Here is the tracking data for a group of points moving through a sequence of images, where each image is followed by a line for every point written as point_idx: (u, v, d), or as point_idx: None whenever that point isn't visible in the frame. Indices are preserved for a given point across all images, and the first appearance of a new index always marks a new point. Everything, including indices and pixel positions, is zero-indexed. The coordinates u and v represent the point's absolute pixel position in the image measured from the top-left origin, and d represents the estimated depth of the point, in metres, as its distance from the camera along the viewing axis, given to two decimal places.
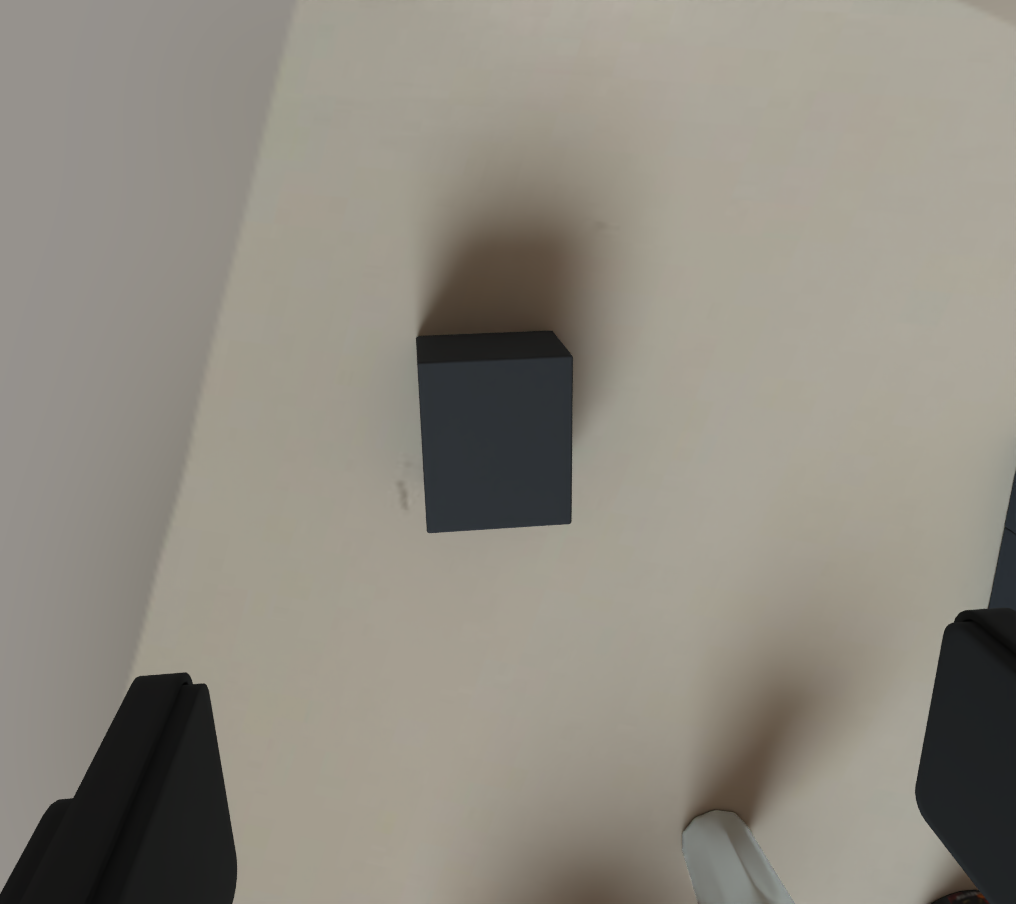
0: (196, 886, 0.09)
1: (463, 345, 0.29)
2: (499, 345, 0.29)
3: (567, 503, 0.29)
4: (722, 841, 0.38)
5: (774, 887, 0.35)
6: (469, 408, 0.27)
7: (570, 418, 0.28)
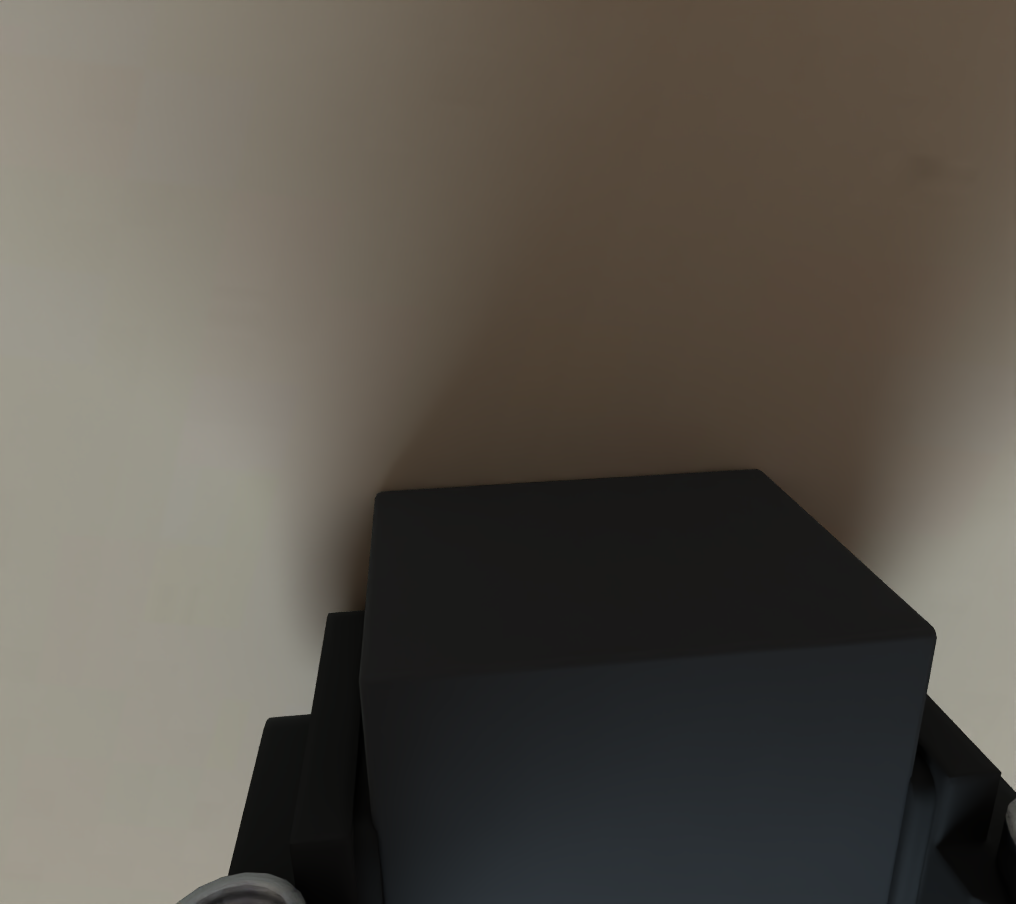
0: None
1: (520, 549, 0.09)
2: (638, 551, 0.09)
3: None
4: None
5: None
6: (553, 816, 0.07)
7: (899, 825, 0.08)
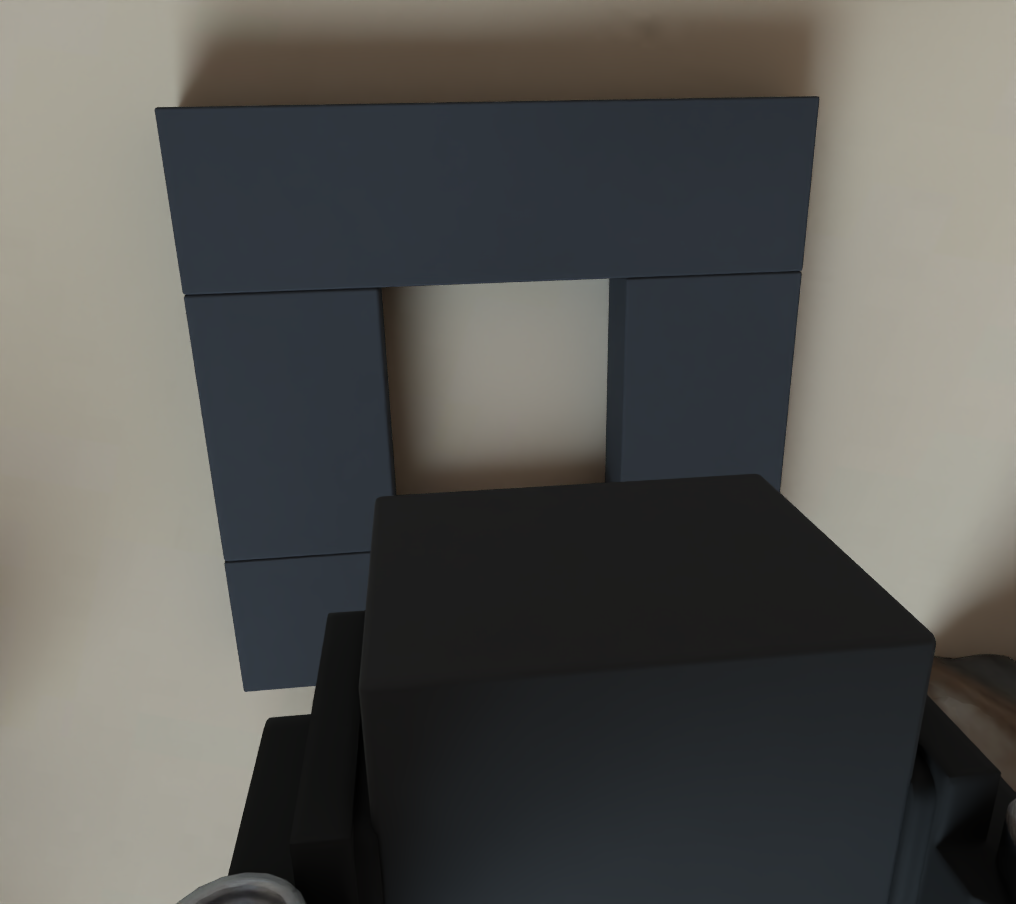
0: None
1: (520, 554, 0.09)
2: (638, 556, 0.09)
3: None
4: None
5: None
6: (551, 822, 0.07)
7: (899, 831, 0.08)
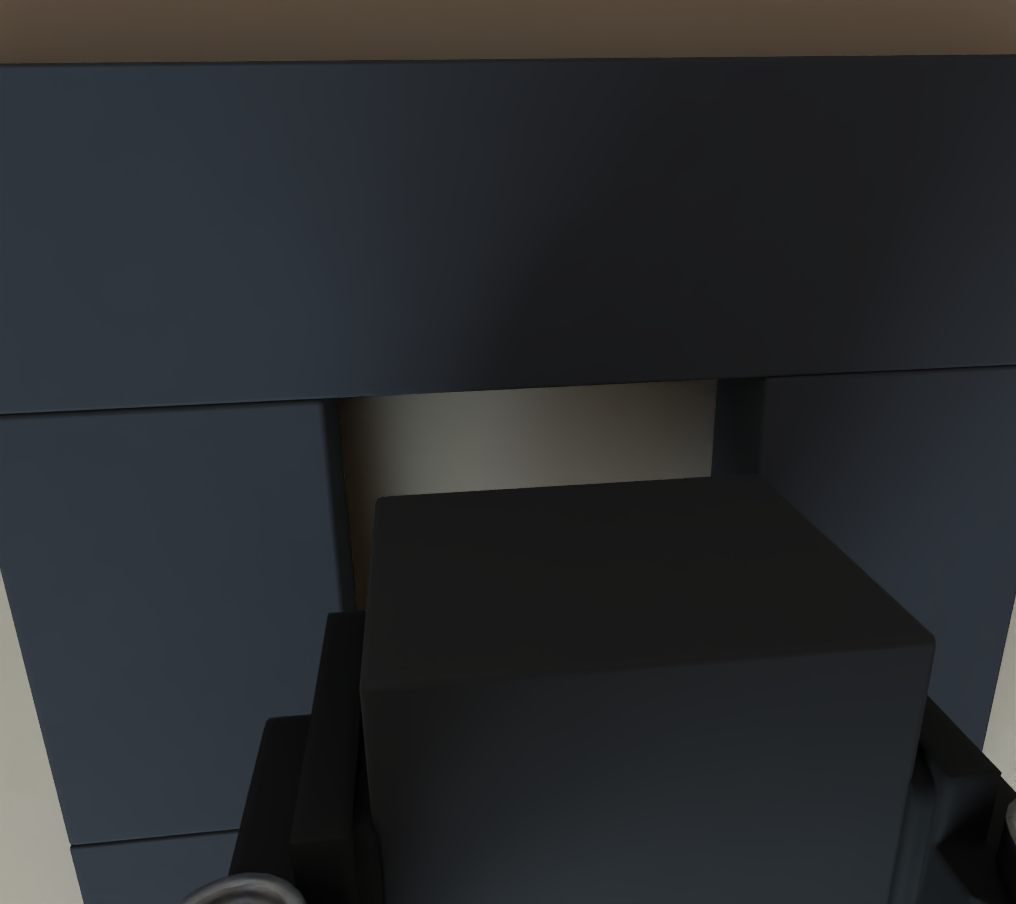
0: None
1: (521, 554, 0.09)
2: (638, 557, 0.09)
3: None
4: None
5: None
6: (554, 822, 0.07)
7: (899, 831, 0.08)
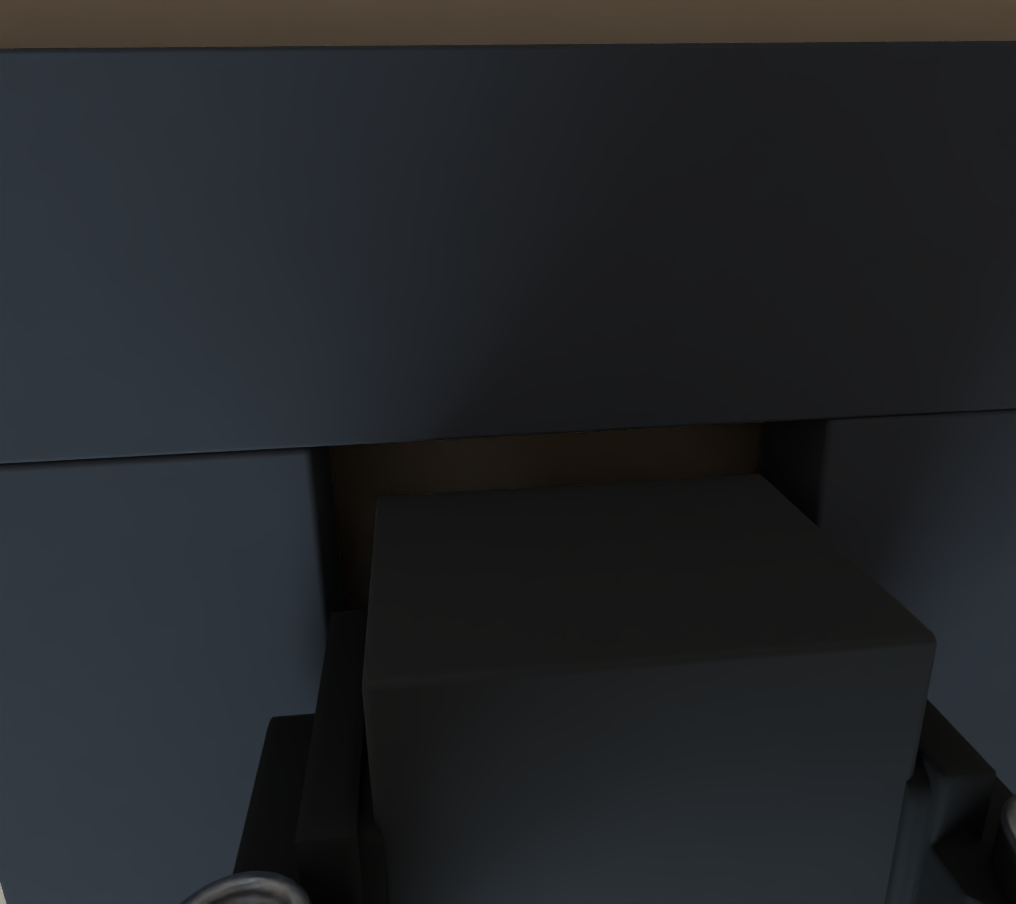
0: None
1: (522, 554, 0.09)
2: (639, 556, 0.09)
3: None
4: None
5: None
6: (555, 822, 0.07)
7: None
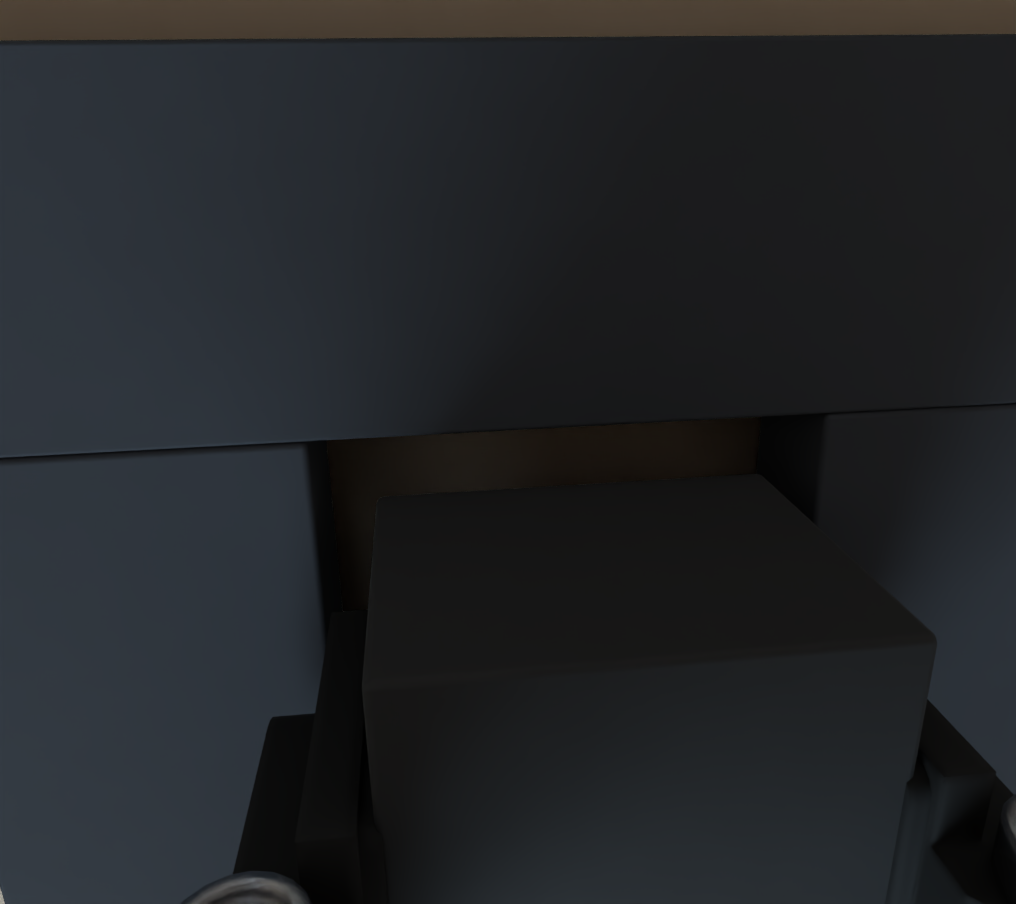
0: None
1: (522, 554, 0.09)
2: (639, 556, 0.09)
3: None
4: None
5: None
6: (555, 822, 0.07)
7: None
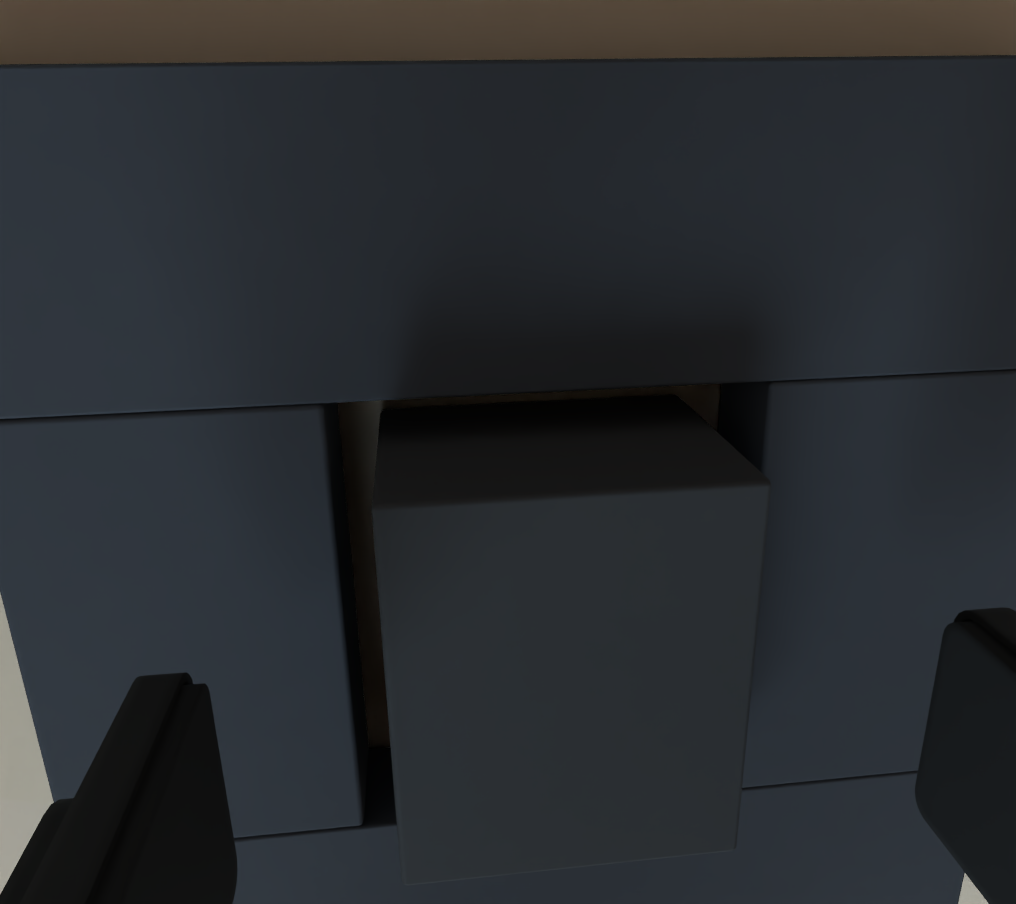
0: (197, 886, 0.09)
1: (487, 440, 0.12)
2: (573, 441, 0.12)
3: (732, 810, 0.12)
4: None
5: None
6: (505, 612, 0.11)
7: (754, 628, 0.11)
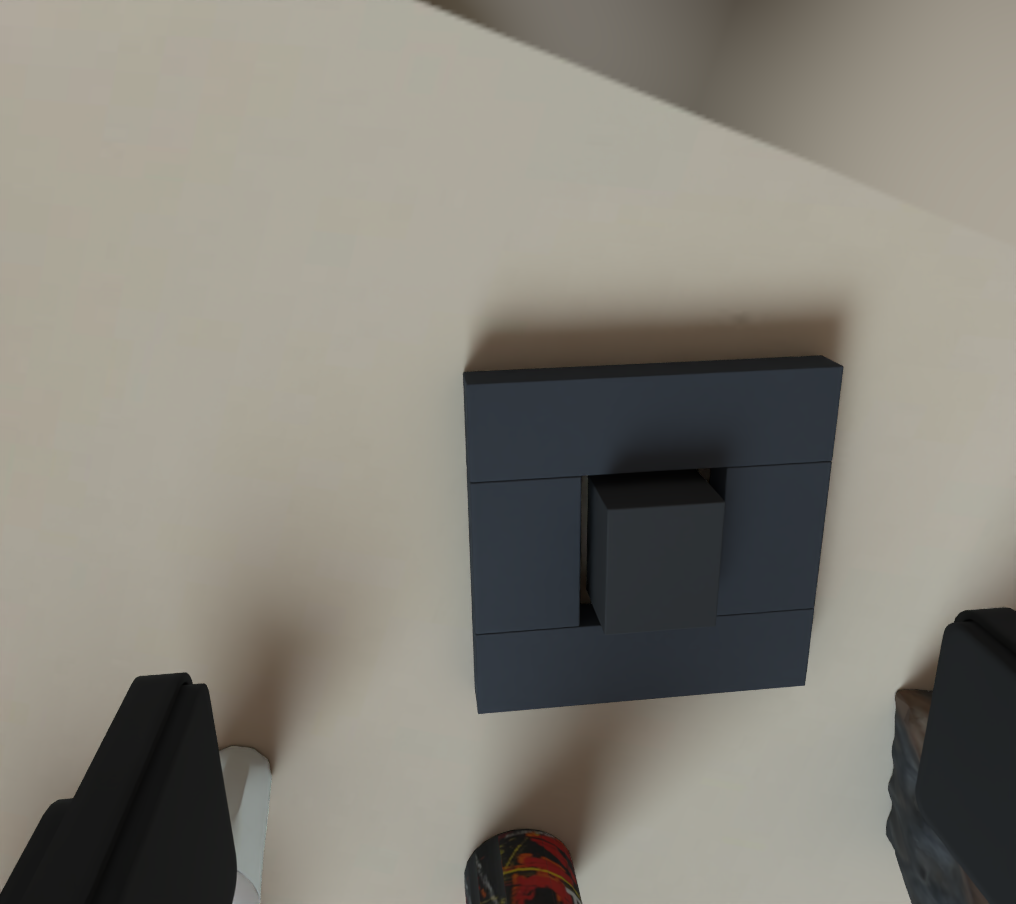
0: (196, 886, 0.09)
1: (632, 487, 0.36)
2: (661, 487, 0.36)
3: (714, 611, 0.37)
4: None
5: (233, 812, 0.36)
6: (644, 541, 0.35)
7: (720, 547, 0.36)
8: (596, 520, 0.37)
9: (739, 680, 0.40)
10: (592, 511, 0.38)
